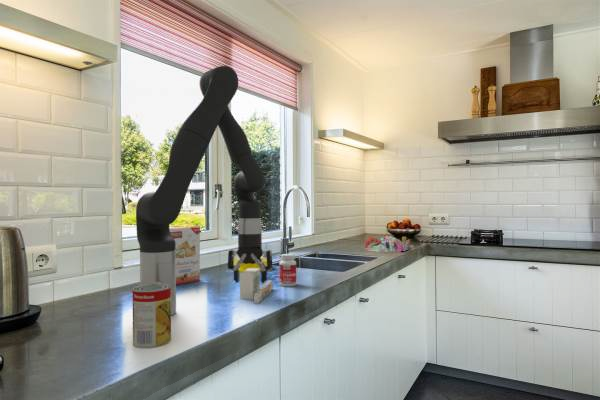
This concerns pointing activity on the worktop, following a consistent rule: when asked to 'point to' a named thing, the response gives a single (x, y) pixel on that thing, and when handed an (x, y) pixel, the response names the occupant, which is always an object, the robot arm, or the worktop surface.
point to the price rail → (263, 291)
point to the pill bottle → (287, 270)
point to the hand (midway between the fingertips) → (250, 282)
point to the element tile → (246, 266)
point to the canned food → (151, 315)
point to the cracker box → (187, 253)
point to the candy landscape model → (387, 244)
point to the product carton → (249, 283)
